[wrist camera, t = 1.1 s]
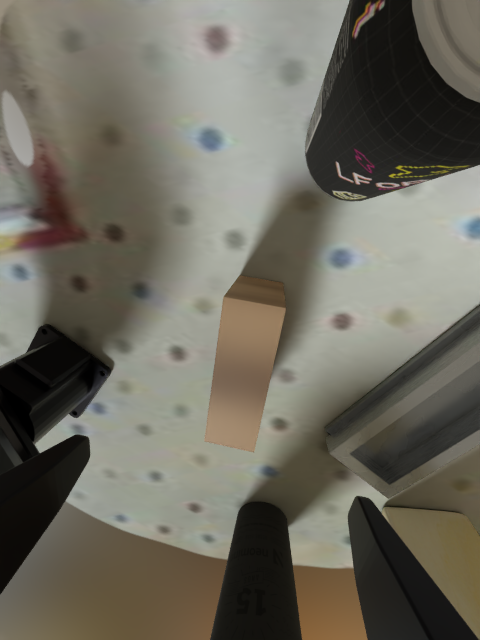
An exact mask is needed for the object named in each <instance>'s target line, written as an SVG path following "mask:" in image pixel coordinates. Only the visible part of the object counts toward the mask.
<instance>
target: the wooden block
mask: <svg viewBox="0 0 480 640" xmlns="http://www.w3.org/2000/svg"><path fill="white" fill-rule="evenodd" d="M285 311H286V303H285V294H284V286H283V283H281V282H275V281H269V280H264V279H258V278H252V277H246V276H241V275H240V276H239V277H238V278H237V280H236V281H235V282H234V284H233V285H232V286H231V288H230V289H229V290H228V292H227V293H226V294H225V296H224V298H223V305H222V313H221V320H220V328H219V335H218V343H217V350H216V358H215V365H214V373H213V380H212V388H211V395H210V403H209V410H208V418H207V426H206V433H205V442H210V443H214V444H219V445H223V446H228V447H232V448H237V449H241V450H246V451H250V452H254V450H255V445H256V441H257V436H258V432H259V428H260V423H261V419H262V414H263V410H264V405H265V401H266V396H267V392H268V387H269V383H270V378H271V374H272V369H273V365H274V360H275V356H276V351H277V347H278V342H279V338H280V333H281V329H282V324H283V320H284V315H285Z"/></svg>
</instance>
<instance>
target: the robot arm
mask: <svg viewBox="0 0 480 640" xmlns="http://www.w3.org/2000/svg"><path fill="white" fill-rule="evenodd" d="M46 330H47V331H46ZM103 371H104V372H105V373H103ZM110 374H111V370H110V369H109V368H108V367H107V366H106V365H105V364H103V363H102V362H100V361H99V360H98V359H96V358H95V357H93V356H92V355H91V354H89V353H88V352H87V351H85V350H84V349H82V348H81V347H80V346H78V345H77V344H76V343H74V342H73V341H71V340H70V339H69V338H67V337H66V336H65V335H63V334H62V333H60V332H59V331H58V330H56V329H55V328H53V327H52V326H51V325H49V324H45V325H43V326H40V327H39V329H38V331H37V333H36V335H35V337H34V339H33V341H32V342H31V344H30V346H29V348H28V350H27V352H26V353H25V354H23V355H21V356H19V357H17V358H15V359H13V360H11V361H9V362H7V363H5V364H3V365H1V366H0V594H1V593H2V591H3V590H4V589H5V587H6V586H7V584H8V583H9V581H10V580H11V579H12V577H13V576H14V574H15V573H16V572H17V570H18V569H19V567H20V566H21V565H22V563H23V562H24V560H25V559H26V557H27V556H28V555H29V553H30V552H31V550H32V549H33V547H34V546H35V544H36V543H37V542H38V540H39V539H40V538H41V536H42V534H43V533H44V532H45V530H46V529H47V528H48V526H49V525H50V523H51V522H52V520H53V519H54V517H55V516H56V515H57V513H58V512H59V510H60V509H61V507H62V505H63V503H64V502H65V500H66V499H67V497H68V495H69V494H70V492H71V490H72V489H73V487H74V485H75V483H76V482H77V480H78V478H79V477H80V475H81V473H82V471H83V470H84V468H85V466H86V465H87V463H88V461H89V458H90V442H89V438H88V437H87V436H83V435H74V436H72V437H70V438H68V439H66V440H64V441H63V442H61V443H59V444H57V445H55V446H53V447H51V448H49V449H47V450H46V451H44V452H42V453H39V451H38V450H37V448H36V446H35V445H34V444H35V443H36V442H38V441H39V440H40V439H41V438H42V437H43V436H44V435H45V434H47V433H48V432H49V431H50V430H51V429H52V428H53V427H54V426H55V425H57V424H58V423H59V422H60V421H61V420H62V419H63V418H64V417H65V416H67V415H68V414H70V415H71V416H72V417H75V418H78V417H79V416H80V415H81V414H83V412H84V411H85V409H86V408H87V406H88V405H89V404H90V402H91V401H92V399H93V398H94V397H95V395H96V394H97V392H98V391H99V390H100V388H101V387H102V385H103V384H104V382H105V381H106V380H107V378H108V377H109V375H110ZM348 525H349V533H350V541H351V549H352V558H353V566H354V573H355V580H356V586H357V591H358V595H359V600H360V605H361V610H362V615H363V620H364V624H365V629H366V634H367V638H368V640H479V639H478V637H477V636H476V635H475V633H474V632H473V631H472V630H471V628H470V627H469V626H468V624H467V623H466V622H465V621H464V619H463V618H462V617H461V615H460V614H459V613H458V611H457V610H456V609H455V608H454V606H453V605H452V604H451V602H450V601H449V600H448V599H447V597H446V596H445V595H444V593H443V592H442V591H441V590H440V588H439V587H438V586H437V584H436V583H435V582H434V580H433V579H432V578H431V577H430V575H429V574H428V573H427V571H426V570H425V569H424V568H423V566H422V565H421V564H420V562H419V561H418V560H417V559H416V557H415V556H414V555H413V553H412V552H411V551H410V549H409V548H408V547H407V546H406V544H405V543H404V542H403V540H402V539H401V538H400V537H399V535H398V534H397V533H396V531H395V530H394V529H393V528H392V526H391V525H390V524H389V522H388V521H387V520H386V518H385V517H384V516H383V515H382V513H381V512H380V511H379V509H378V508H377V507H376V506H375V504H374V503H373V502H372V501H371V500H370V499H369V498H366V497H361V496H356V497H355V499H354V501H353V503H352V506H351V508H350V510H349V513H348Z"/></svg>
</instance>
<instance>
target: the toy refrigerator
mask: <svg viewBox="0 0 480 640" xmlns="http://www.w3.org/2000/svg"><path fill="white" fill-rule="evenodd" d="M382 515H383V516H384V517H385V518H386V520H387V521H388V522H389V524H390V525H391V526H392V528H393V529H394V530H395V531H396V533H397V534H398V535H399V537H400V538H401V539H402V540H403V542H404V543H405V544H406V546H407V547H408V548H409V549H410V551H411V552H412V553H413V555H414V556H415V557H416V559H417V560H418V561H419V562H420V564H421V565H422V566H423V568H424V569H425V570H426V571H427V573H428V574H429V575H430V577H431V578H432V579H433V580H434V582H435V583H436V584H437V586H438V587H439V588H440V590H441V591H442V592H443V593H444V595H445V596H446V597H447V599H448V600H449V601H450V602H451V604H452V605H453V606H454V608H455V609H456V610H457V611H458V613H459V614H460V615H461V617H462V618H463V619H464V621H465V622H466V623H467V624H468V626H469V627H470V628H471V630H472V631H473V632H474V633H475V635H476V636H477V637H478V639H479V640H480V536H479V534H478V533H477V531H476V530H475V528H474V526H473V525H472V523H471V522H470V520H469V519H468V518H467V517H466V516H465V515H464V514H461V513H455V512H447V511H435V510H423V509H411V508H396V507H384V508H383V510H382Z"/></svg>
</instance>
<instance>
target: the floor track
mask: <svg viewBox="0 0 480 640" xmlns="http://www.w3.org/2000/svg"><path fill="white" fill-rule="evenodd" d="M325 431H326V432H327V433H329V434H330V435H329V436H328V437H327V438H326V442H327V446H328V450H329V454H331V455H332V456H333V457H334V458H336V459H337V460H338V461H340V462H341V463H342V464H344V465H345V466H346V467H348V468H349V469H350V470H351V471H353V472H354V473H355V474H357V475H358V476H359V477H361V478H362V479H363V480H364V481H366V482H367V483H368V484H370V485H371V486H372V487H374V488H375V489H376V490H377V491H379V492H380V493H381V494H383V495H384V496H385V497H387V498H388V499H389V498H390V497H392V496H394V495H396V494H397V493H399V492H401V491H402V490H404V489H406V488H407V487H409V486H411V485H412V484H414V483H416V482H417V481H419V480H421V479H422V478H424V477H426V476H427V475H429V474H431V473H432V472H434V471H436V470H437V469H439V468H441V467H442V466H444V465H446V464H447V463H449V462H451V461H452V460H454V459H456V458H457V457H459V456H461V455H462V454H464V453H466V452H467V451H469V450H471V449H472V448H474V447H476V446H477V445H479V444H480V306H478V307H477V308H476V309H475V310H473V311H472V312H471V313H469V314H468V315H467V316H466V317H464V318H463V319H462V320H461V321H459V322H458V323H457V324H456V325H454V326H453V327H452V328H450V329H449V330H448V331H447V332H445V333H444V334H443V335H442V336H440V337H439V338H438V339H436V340H435V341H434V342H433V343H431V344H430V345H429V346H428V347H426V348H425V349H424V350H423V351H421V352H420V353H419V354H417V355H416V356H415V357H414V358H412V359H411V360H410V361H409V362H407V363H406V364H405V365H404V366H402V367H401V368H400V369H398V370H397V371H396V372H395V373H393V374H392V375H391V376H390V377H388V378H387V379H386V380H385V381H383V382H382V383H381V384H379V385H378V386H377V387H376V388H374V389H373V390H372V391H371V392H369V393H368V394H367V395H365V396H364V397H363V398H362V399H360V400H359V401H358V402H357V403H355V404H354V405H353V406H352V407H350V408H349V409H348V410H346V411H345V412H344V413H343V414H341V415H340V416H339V417H338V418H336V419H335V420H334V421H333V422H331V423H330V424H329V425H327V426H326V427H325Z"/></svg>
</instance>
